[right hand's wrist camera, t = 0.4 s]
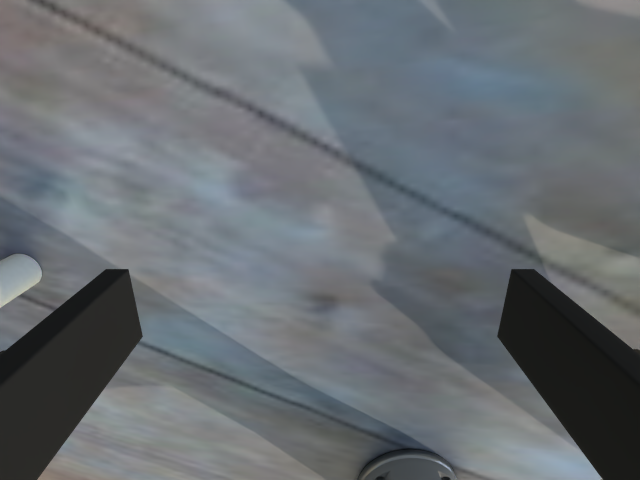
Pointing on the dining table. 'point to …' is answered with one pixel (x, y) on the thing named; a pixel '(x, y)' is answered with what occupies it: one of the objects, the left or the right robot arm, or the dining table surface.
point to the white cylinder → (17, 276)
